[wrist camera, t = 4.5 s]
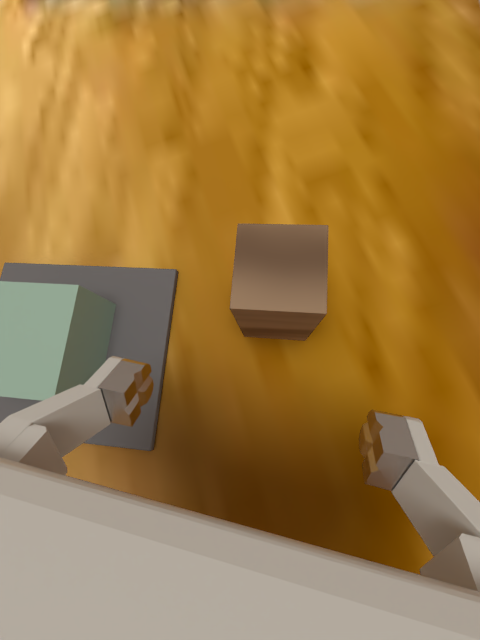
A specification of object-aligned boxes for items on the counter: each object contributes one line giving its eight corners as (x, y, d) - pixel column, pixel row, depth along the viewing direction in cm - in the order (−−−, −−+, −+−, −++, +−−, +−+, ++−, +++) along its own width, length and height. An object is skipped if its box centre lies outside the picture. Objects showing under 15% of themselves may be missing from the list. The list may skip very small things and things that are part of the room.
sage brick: (98, 398, 23) (53, 401, 18) (11, 389, 24) (-54, 390, 19) (116, 304, 25) (78, 285, 20) (33, 299, 26) (-21, 280, 21)
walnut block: (305, 340, 23) (326, 313, 14) (244, 336, 24) (229, 308, 15) (307, 282, 24) (328, 225, 15) (249, 280, 25) (237, 223, 16)
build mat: (153, 449, 22) (150, 450, 22) (-35, 427, 24) (-42, 428, 24) (178, 272, 26) (176, 269, 25) (10, 265, 28) (4, 262, 27)
